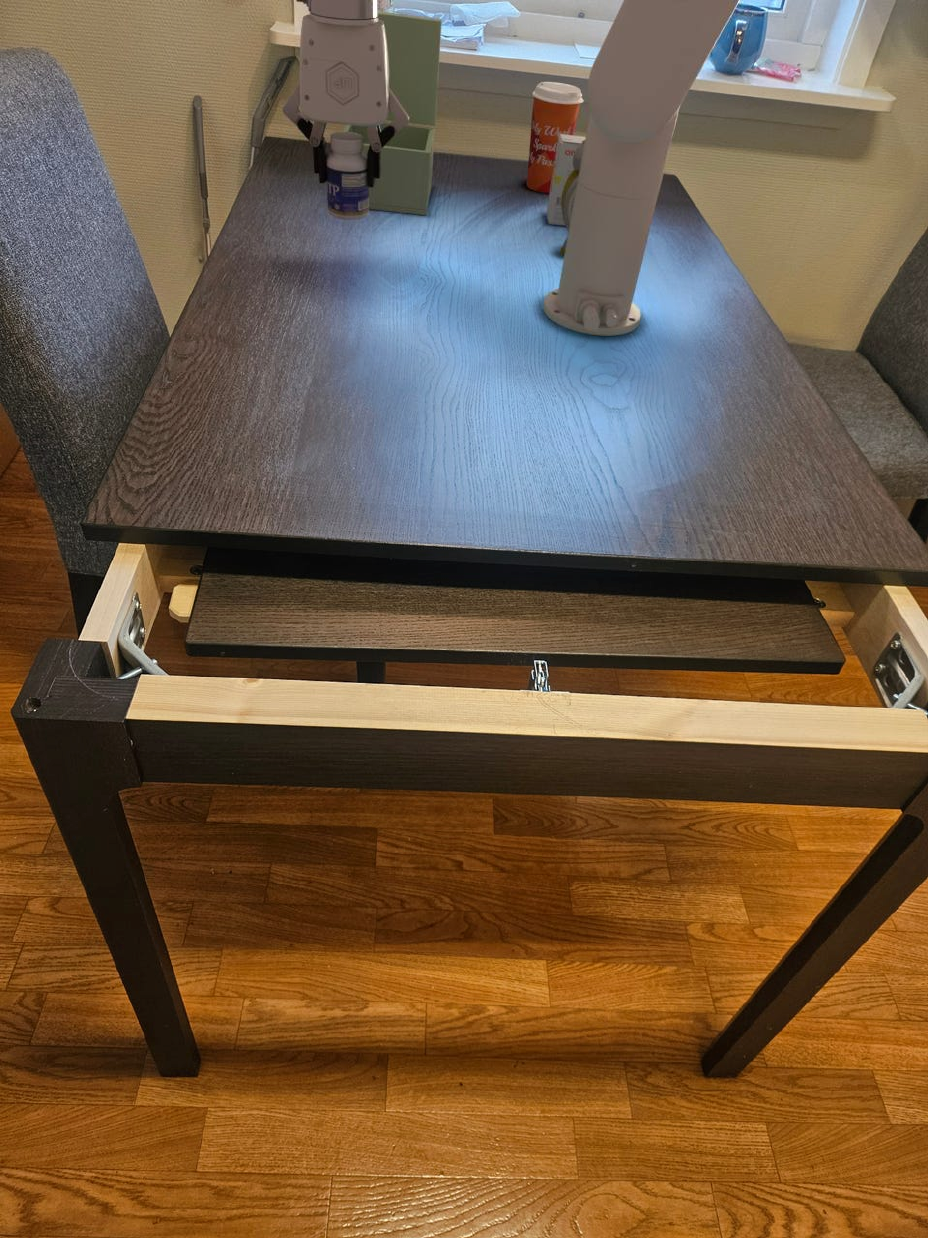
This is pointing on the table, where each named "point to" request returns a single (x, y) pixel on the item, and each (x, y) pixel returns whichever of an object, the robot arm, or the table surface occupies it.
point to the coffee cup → (550, 129)
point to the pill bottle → (347, 177)
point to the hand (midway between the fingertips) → (347, 180)
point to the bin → (402, 170)
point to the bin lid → (413, 64)
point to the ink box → (561, 175)
